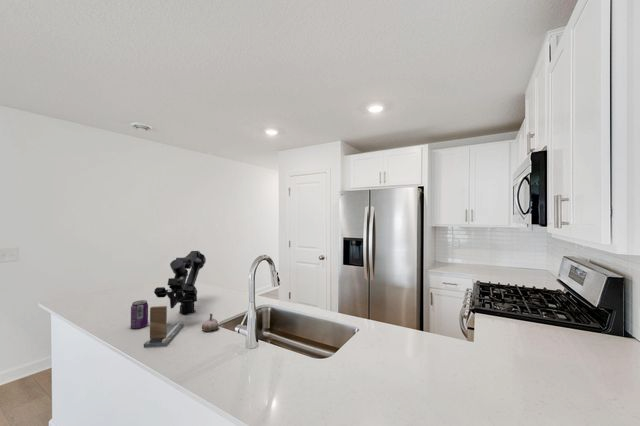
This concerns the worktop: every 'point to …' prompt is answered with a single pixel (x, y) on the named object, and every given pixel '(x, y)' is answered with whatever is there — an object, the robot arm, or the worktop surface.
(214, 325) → the garlic bulb
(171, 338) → the fader track
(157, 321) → the fader handle
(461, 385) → the worktop surface
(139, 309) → the beverage can
